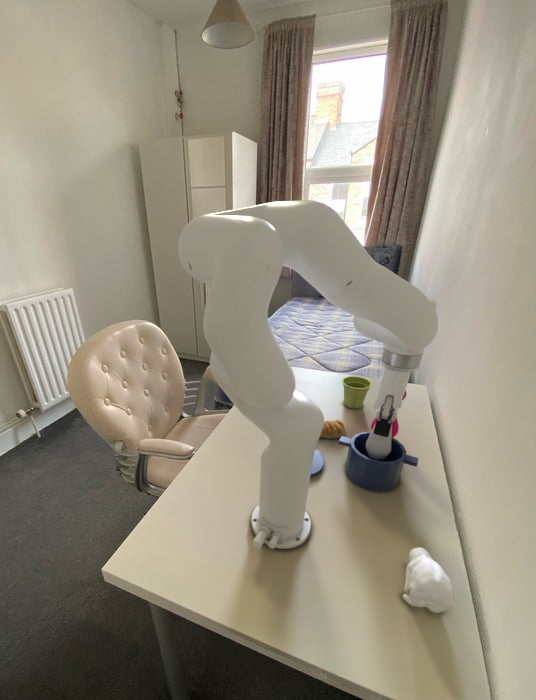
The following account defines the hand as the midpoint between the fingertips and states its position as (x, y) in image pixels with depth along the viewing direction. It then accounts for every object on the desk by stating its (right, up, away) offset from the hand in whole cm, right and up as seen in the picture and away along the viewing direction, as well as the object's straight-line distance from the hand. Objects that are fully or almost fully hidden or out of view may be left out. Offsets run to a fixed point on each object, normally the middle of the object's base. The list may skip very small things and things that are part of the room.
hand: (382, 428), depth 78 cm
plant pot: (+6, +5, +37) cm, 38 cm away
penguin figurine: (-2, -27, -19) cm, 33 cm away
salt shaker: (0, -7, +4) cm, 8 cm away
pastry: (-6, -4, +22) cm, 23 cm away
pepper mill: (+8, -5, +19) cm, 21 cm away
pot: (0, -12, +7) cm, 14 cm away
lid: (-18, -9, +11) cm, 23 cm away
